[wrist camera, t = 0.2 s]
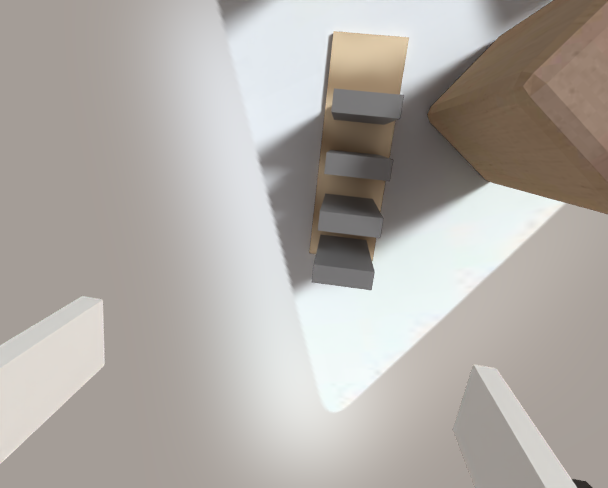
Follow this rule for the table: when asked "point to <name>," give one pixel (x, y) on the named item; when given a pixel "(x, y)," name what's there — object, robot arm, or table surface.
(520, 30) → the wooden block
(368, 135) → the oak board
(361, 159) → the domino
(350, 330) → the table surface
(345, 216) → the domino
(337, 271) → the domino
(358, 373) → the table surface
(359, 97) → the domino
